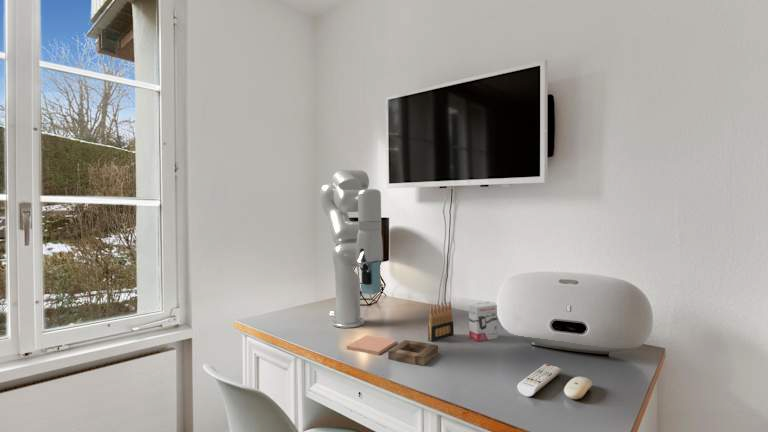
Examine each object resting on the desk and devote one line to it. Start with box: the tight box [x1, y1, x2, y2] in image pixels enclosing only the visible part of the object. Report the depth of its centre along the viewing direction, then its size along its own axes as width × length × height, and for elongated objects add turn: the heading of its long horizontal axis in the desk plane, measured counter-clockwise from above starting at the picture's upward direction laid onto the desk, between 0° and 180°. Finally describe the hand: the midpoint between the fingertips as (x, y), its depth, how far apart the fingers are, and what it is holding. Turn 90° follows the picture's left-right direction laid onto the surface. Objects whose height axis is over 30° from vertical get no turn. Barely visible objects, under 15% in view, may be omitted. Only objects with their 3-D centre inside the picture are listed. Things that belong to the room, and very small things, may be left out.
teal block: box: [360, 261, 382, 295], centre depth 131 cm, size 4×4×10 cm
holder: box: [387, 339, 439, 367], centre depth 121 cm, size 12×12×2 cm
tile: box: [346, 335, 398, 356], centre depth 131 cm, size 12×12×1 cm
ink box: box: [468, 301, 498, 343], centre depth 137 cm, size 8×5×12 cm, turn 115°
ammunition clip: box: [427, 301, 455, 342], centre depth 138 cm, size 11×2×12 cm, turn 127°
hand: (371, 282), depth 131 cm, fingers closed on teal block, 4 cm apart
